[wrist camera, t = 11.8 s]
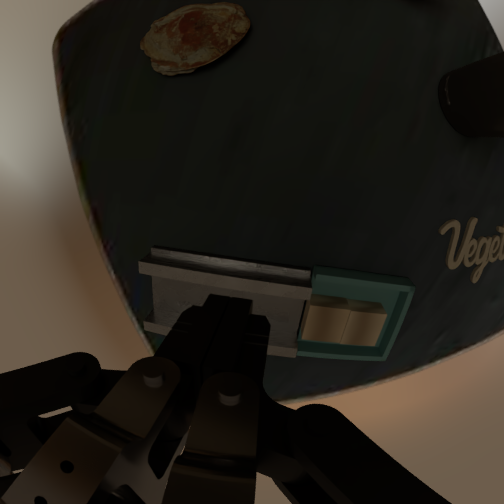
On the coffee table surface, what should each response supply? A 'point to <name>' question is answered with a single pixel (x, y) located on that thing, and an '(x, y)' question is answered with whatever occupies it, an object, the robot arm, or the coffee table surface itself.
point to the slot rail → (227, 290)
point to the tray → (365, 289)
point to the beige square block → (324, 318)
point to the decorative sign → (472, 247)
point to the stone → (194, 36)
